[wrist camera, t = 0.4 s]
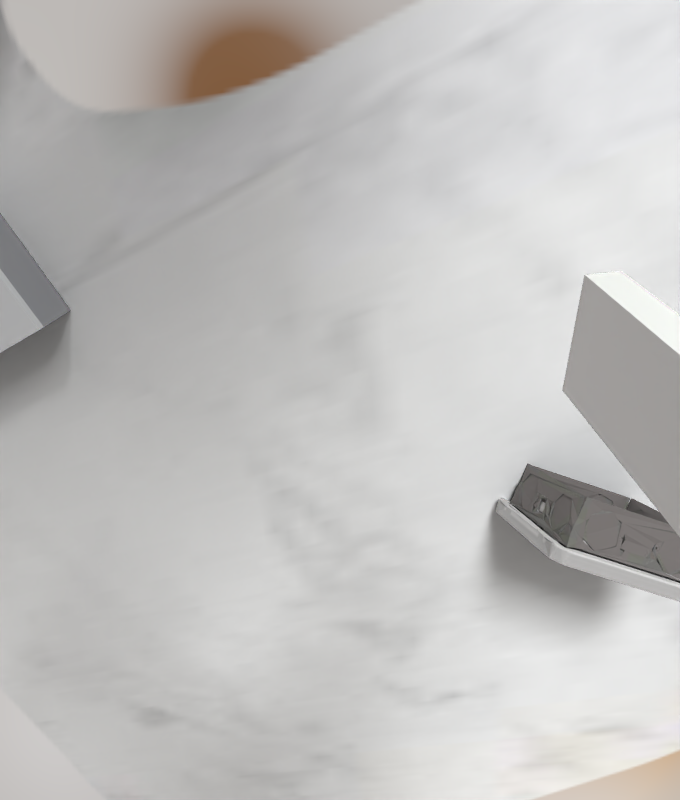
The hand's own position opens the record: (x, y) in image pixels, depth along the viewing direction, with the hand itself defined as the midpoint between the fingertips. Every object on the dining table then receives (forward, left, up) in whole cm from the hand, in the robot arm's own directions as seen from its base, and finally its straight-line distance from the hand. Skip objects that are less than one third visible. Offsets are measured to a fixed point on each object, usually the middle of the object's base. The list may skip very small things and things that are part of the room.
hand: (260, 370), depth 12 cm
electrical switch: (+17, +17, -24) cm, 34 cm away
